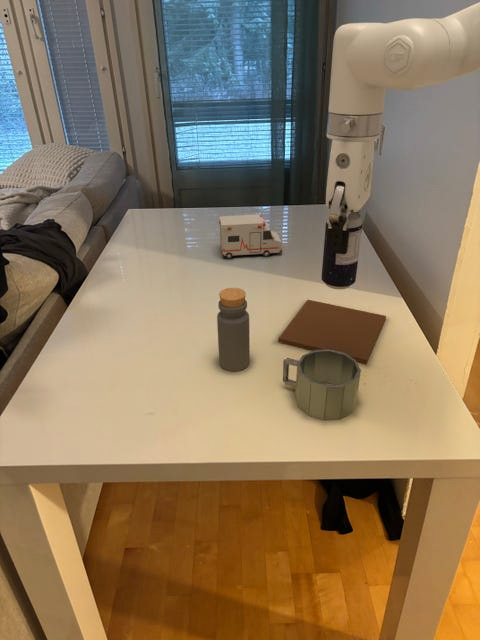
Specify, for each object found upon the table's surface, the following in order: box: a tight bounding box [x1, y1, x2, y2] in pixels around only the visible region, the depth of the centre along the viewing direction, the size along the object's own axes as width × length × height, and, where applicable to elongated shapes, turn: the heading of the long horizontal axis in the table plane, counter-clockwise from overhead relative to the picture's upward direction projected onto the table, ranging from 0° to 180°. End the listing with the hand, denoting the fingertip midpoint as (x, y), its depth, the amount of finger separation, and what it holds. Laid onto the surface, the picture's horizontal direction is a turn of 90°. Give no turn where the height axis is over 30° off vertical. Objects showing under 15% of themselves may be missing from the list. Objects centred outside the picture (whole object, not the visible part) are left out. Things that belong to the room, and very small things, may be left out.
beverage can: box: [321, 211, 363, 290], centre depth 76 cm, size 6×6×12 cm
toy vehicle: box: [218, 213, 283, 260], centre depth 133 cm, size 10×17×10 cm, turn 97°
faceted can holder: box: [282, 349, 362, 421], centre depth 79 cm, size 13×10×7 cm
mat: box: [278, 299, 387, 365], centre depth 98 cm, size 18×18×1 cm
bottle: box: [216, 287, 251, 372], centre depth 86 cm, size 6×6×15 cm
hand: (342, 244), depth 75 cm, fingers closed on beverage can, 5 cm apart
